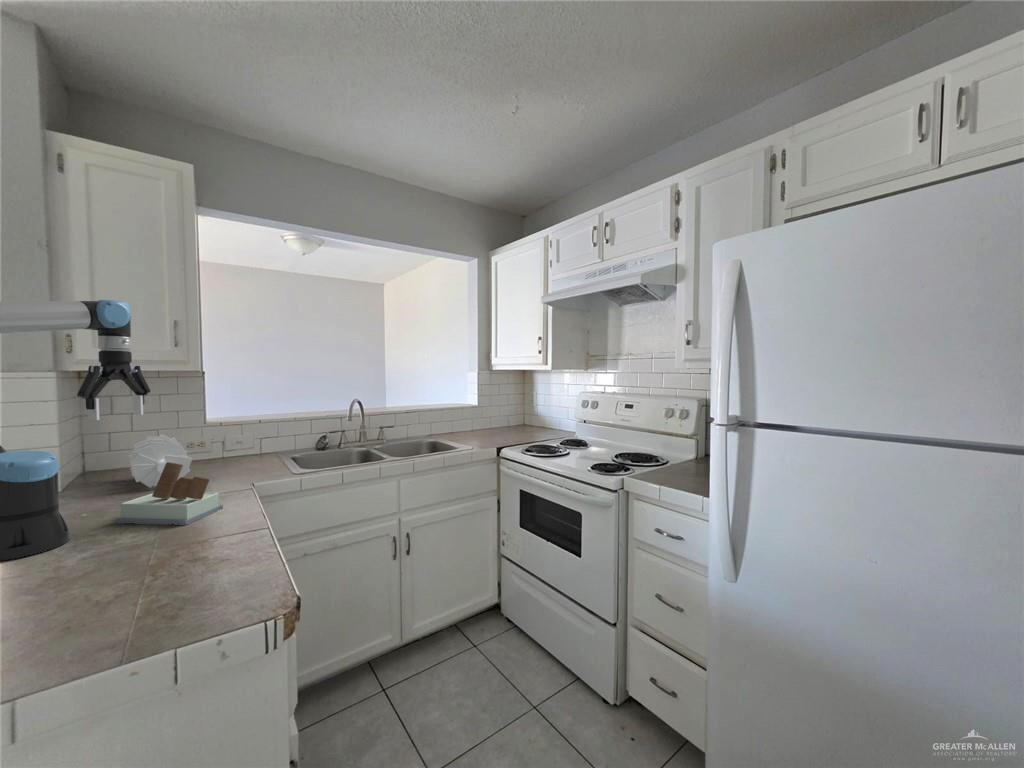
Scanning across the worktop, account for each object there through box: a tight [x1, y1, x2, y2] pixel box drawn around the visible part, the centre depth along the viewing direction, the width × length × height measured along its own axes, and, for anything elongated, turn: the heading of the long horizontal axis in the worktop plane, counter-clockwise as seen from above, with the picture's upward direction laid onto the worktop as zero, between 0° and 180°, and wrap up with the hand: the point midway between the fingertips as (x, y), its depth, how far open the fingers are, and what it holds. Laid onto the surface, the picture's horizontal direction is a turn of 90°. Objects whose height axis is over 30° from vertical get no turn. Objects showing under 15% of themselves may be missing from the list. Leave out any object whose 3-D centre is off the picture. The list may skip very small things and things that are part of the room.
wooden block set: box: [152, 462, 210, 500], centre depth 125 cm, size 18×9×10 cm, turn 67°
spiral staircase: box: [127, 433, 193, 489], centre depth 160 cm, size 18×18×25 cm
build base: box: [115, 492, 224, 526], centre depth 124 cm, size 14×21×5 cm, turn 87°
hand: (117, 417), depth 131 cm, fingers open, 13 cm apart
